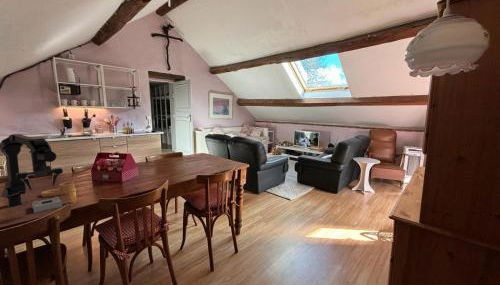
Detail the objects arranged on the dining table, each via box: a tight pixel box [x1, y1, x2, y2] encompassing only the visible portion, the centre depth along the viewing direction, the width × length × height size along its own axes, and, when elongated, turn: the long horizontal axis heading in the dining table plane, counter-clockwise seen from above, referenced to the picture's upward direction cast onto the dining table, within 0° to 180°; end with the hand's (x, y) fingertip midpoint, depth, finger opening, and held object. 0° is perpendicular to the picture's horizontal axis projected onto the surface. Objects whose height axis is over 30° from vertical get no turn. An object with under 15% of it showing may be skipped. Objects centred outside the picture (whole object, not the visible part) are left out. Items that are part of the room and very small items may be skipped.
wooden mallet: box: [41, 181, 76, 198], centre depth 155 cm, size 18×8×7 cm, turn 117°
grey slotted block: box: [32, 196, 63, 214], centre depth 132 cm, size 12×12×4 cm
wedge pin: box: [68, 188, 78, 204], centre depth 139 cm, size 4×4×8 cm
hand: (42, 188), depth 126 cm, fingers open, 9 cm apart
